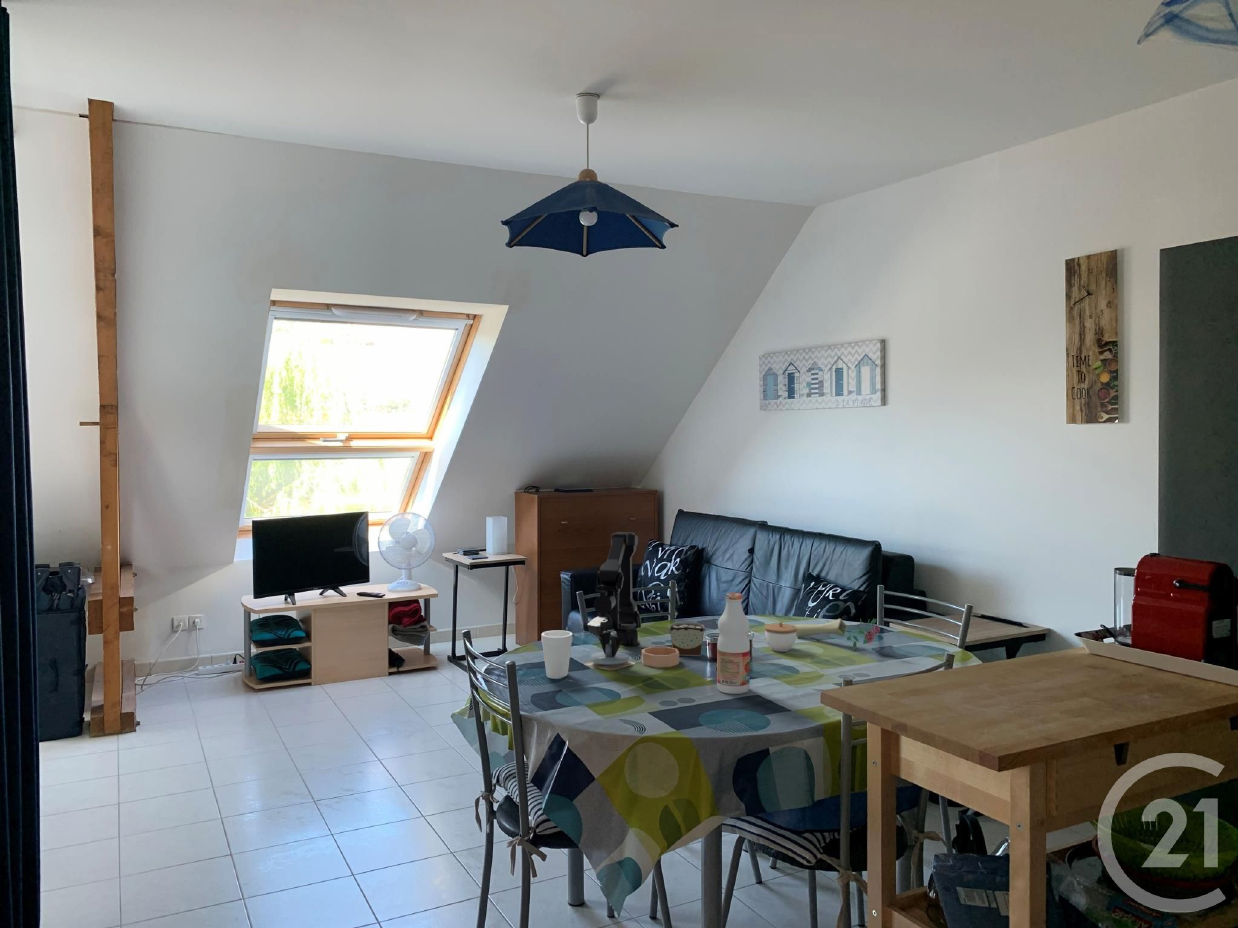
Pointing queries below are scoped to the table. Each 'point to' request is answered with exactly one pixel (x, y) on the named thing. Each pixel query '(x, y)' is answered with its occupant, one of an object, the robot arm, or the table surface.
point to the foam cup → (556, 652)
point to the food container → (687, 638)
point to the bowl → (660, 656)
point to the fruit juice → (733, 648)
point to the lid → (609, 657)
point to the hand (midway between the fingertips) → (609, 655)
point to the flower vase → (836, 630)
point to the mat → (610, 667)
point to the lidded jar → (780, 636)
